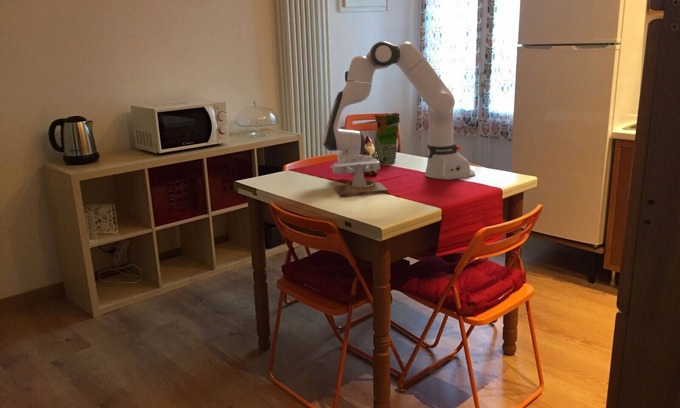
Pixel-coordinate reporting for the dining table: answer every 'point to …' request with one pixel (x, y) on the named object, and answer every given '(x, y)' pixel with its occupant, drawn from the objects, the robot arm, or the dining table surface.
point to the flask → (359, 177)
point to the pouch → (386, 137)
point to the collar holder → (360, 189)
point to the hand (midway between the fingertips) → (360, 170)
